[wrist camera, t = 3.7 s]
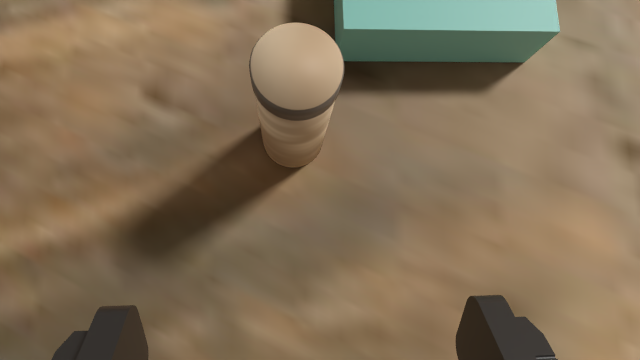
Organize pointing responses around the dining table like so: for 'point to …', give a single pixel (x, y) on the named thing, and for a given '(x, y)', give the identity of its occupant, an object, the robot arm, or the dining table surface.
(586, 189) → the dining table surface
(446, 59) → the teal square frame
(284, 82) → the tan banded cylinder
